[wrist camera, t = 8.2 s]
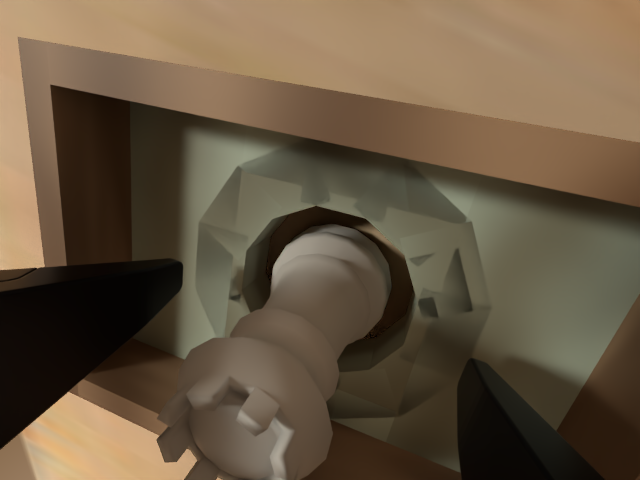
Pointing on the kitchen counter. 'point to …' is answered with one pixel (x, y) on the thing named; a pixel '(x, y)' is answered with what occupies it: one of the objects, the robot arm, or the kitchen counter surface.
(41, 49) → the bore tray
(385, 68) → the kitchen counter surface
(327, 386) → the rook chess piece
